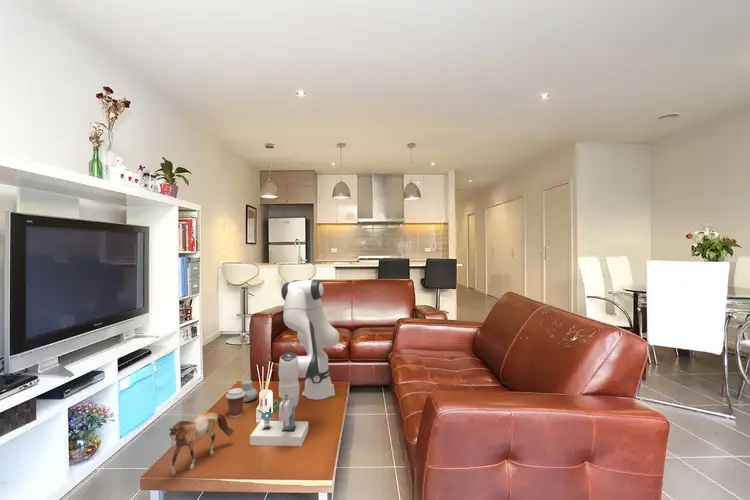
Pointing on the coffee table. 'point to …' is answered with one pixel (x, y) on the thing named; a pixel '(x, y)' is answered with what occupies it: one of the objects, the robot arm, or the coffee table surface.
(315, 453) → the coffee table surface
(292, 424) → the peg
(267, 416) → the lock pin
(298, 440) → the socket block
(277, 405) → the decorative artifact
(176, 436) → the horse figurine
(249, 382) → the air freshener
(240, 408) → the coffee cup
